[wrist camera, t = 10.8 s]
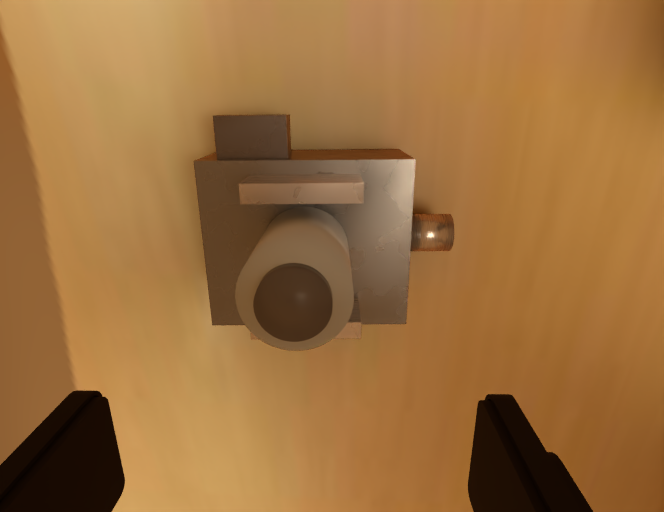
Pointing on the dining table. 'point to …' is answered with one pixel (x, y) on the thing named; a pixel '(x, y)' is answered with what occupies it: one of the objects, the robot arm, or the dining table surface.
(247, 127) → the box with side knob
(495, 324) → the dining table surface
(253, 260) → the toy camera lens
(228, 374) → the dining table surface
